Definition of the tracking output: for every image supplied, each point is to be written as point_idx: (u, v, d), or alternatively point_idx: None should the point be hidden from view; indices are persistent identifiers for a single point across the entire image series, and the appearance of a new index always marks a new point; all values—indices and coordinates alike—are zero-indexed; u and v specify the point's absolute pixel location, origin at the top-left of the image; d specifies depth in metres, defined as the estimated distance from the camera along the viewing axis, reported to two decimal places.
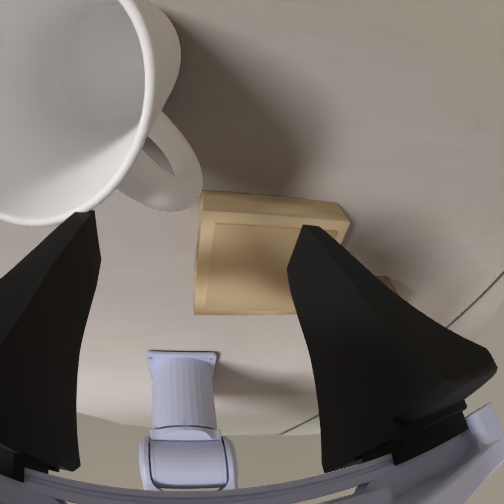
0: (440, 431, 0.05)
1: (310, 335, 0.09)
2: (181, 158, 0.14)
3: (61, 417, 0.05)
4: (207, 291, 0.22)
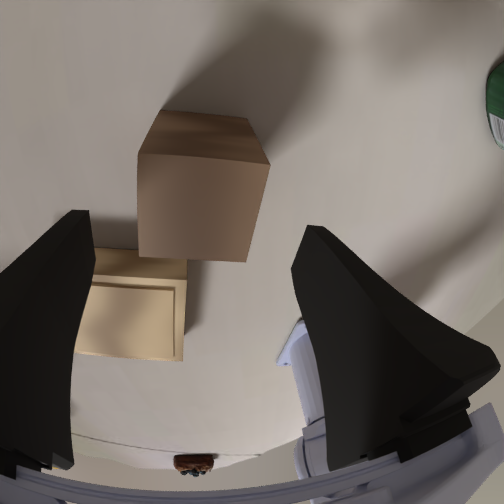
0: (444, 429, 0.05)
1: (315, 335, 0.09)
2: None
3: (54, 416, 0.05)
4: (145, 356, 0.23)
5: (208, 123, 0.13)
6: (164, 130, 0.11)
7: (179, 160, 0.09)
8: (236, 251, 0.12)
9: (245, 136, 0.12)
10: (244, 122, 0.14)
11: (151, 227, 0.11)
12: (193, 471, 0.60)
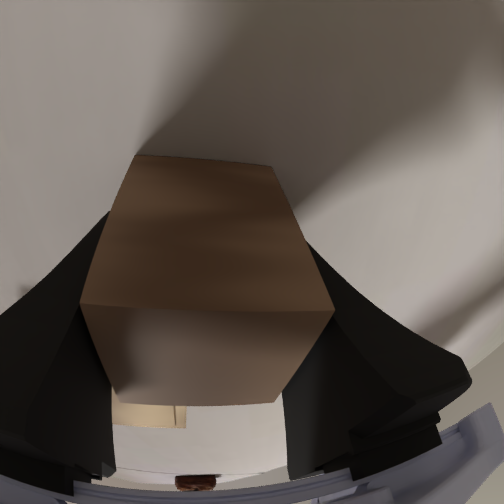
0: (407, 446, 0.05)
1: None
2: None
3: (101, 423, 0.05)
4: (143, 426, 0.18)
5: (211, 187, 0.08)
6: (135, 215, 0.06)
7: (161, 315, 0.05)
8: (262, 396, 0.08)
9: (278, 217, 0.07)
10: (269, 177, 0.09)
11: (130, 383, 0.06)
12: None
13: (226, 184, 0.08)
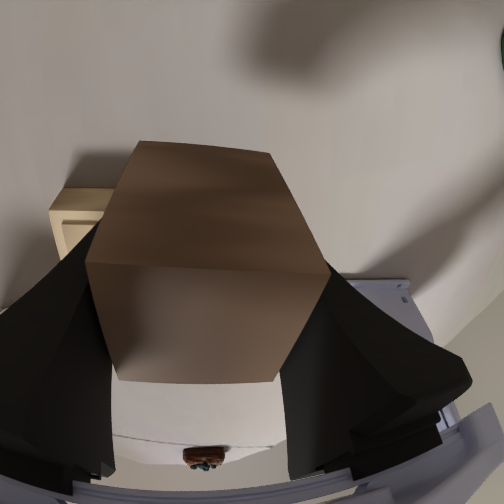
0: (407, 446, 0.05)
1: None
2: None
3: (101, 423, 0.05)
4: None
5: (212, 168, 0.08)
6: (140, 190, 0.07)
7: (163, 273, 0.05)
8: (261, 373, 0.08)
9: (276, 194, 0.08)
10: (267, 161, 0.09)
11: (129, 355, 0.07)
12: (204, 465, 0.59)
13: (226, 166, 0.09)
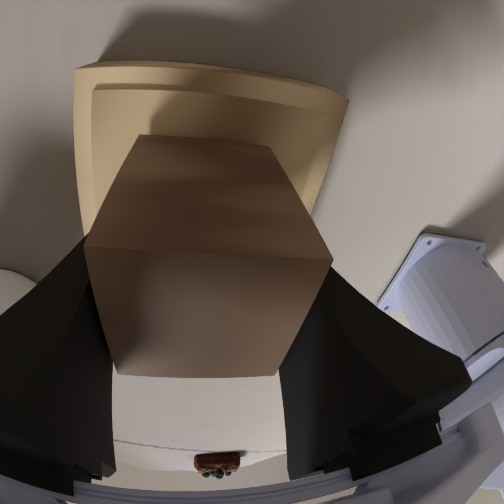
0: (407, 446, 0.05)
1: None
2: None
3: (101, 423, 0.05)
4: None
5: (213, 159, 0.08)
6: (140, 179, 0.07)
7: (162, 257, 0.05)
8: (263, 366, 0.08)
9: (276, 184, 0.08)
10: (267, 154, 0.09)
11: (128, 347, 0.06)
12: (218, 472, 0.52)
13: (226, 157, 0.08)
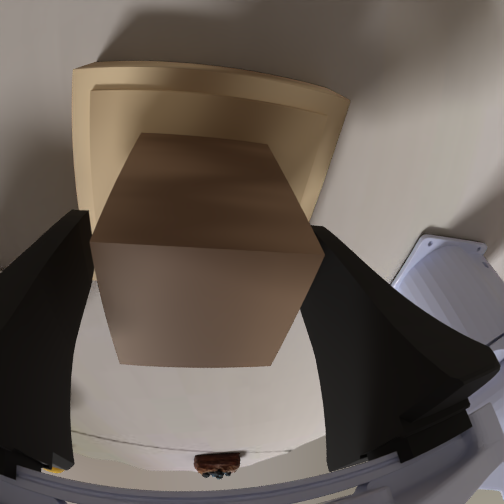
0: (444, 429, 0.05)
1: (315, 335, 0.09)
2: None
3: (54, 416, 0.05)
4: None
5: (212, 158, 0.08)
6: (142, 177, 0.07)
7: (164, 252, 0.05)
8: (259, 357, 0.08)
9: (272, 182, 0.08)
10: (265, 152, 0.10)
11: (131, 337, 0.07)
12: (218, 473, 0.52)
13: (225, 156, 0.09)
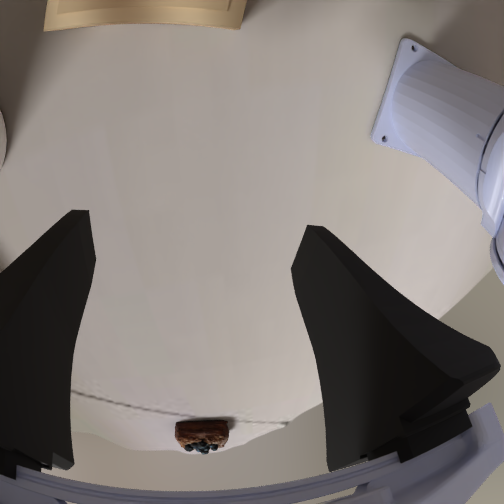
0: (445, 429, 0.05)
1: (315, 335, 0.09)
2: None
3: (54, 416, 0.05)
4: (176, 5, 0.10)
5: None
6: None
7: None
8: None
9: None
10: None
11: None
12: (201, 444, 0.47)
13: None
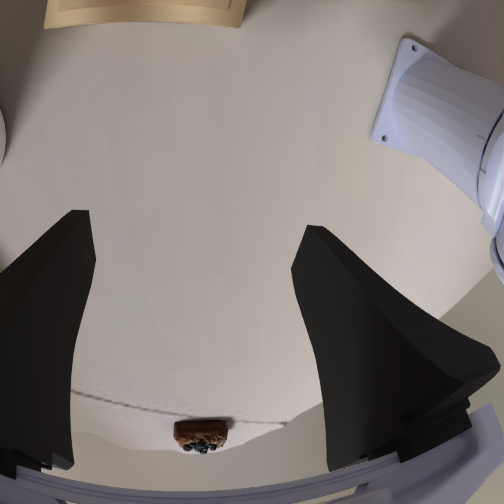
0: (444, 429, 0.05)
1: (315, 335, 0.09)
2: None
3: (54, 415, 0.05)
4: (177, 3, 0.10)
5: None
6: None
7: None
8: None
9: None
10: None
11: None
12: (200, 444, 0.47)
13: None
